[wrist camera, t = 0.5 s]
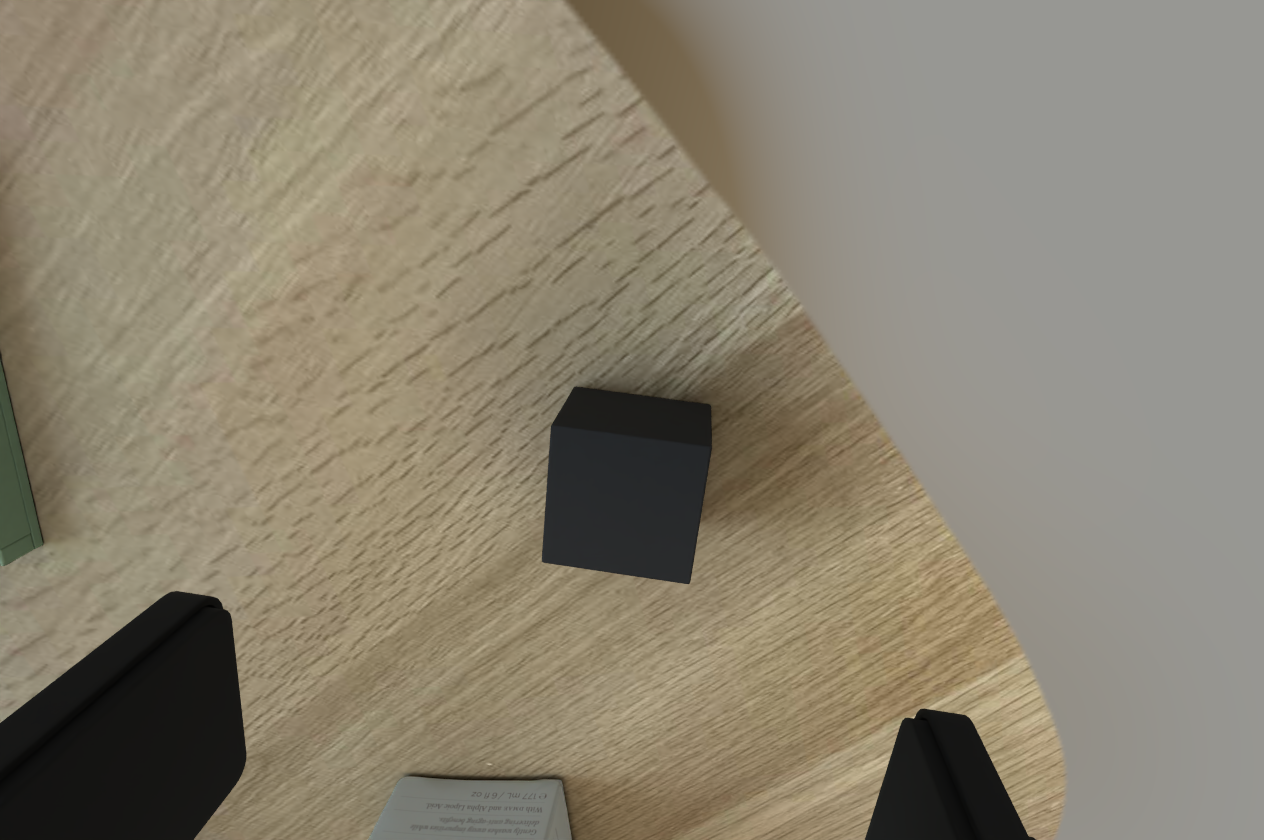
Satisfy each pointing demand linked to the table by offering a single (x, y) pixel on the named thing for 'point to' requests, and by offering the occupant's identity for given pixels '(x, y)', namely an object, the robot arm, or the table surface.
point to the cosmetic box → (474, 810)
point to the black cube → (626, 484)
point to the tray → (14, 490)
